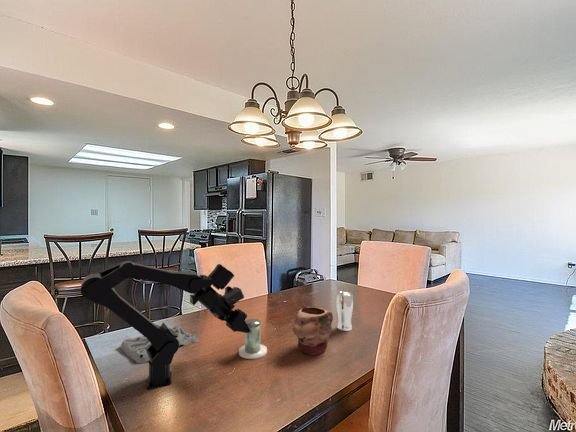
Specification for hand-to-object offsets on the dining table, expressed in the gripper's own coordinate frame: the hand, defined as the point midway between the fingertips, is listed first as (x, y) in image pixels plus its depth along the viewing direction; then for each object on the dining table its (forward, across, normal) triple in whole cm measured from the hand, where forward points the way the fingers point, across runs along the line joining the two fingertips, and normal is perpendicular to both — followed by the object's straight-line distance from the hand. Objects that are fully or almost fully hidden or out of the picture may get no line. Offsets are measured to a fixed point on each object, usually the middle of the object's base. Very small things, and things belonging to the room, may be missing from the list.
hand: (243, 327), depth 99 cm
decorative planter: (+24, -10, -10) cm, 28 cm away
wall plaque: (-8, +25, +22) cm, 34 cm away
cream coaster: (+10, 0, +4) cm, 10 cm away
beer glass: (+39, -4, -26) cm, 47 cm away
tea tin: (+9, 0, +4) cm, 10 cm away
